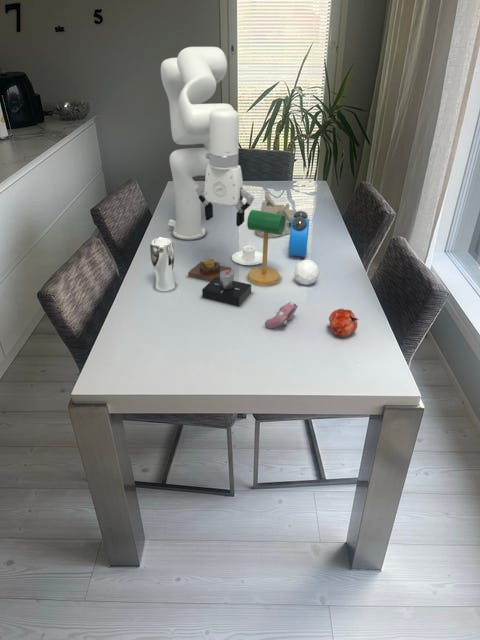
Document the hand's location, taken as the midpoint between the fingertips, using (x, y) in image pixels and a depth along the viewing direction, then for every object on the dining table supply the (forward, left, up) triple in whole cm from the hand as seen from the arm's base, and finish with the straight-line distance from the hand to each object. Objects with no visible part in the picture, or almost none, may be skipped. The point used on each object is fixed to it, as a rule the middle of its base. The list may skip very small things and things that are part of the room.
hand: (224, 221), depth 131 cm
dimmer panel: (+3, -4, -21) cm, 22 cm away
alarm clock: (+13, +33, -22) cm, 41 cm away
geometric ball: (+22, +14, -22) cm, 34 cm away
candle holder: (-1, +22, -22) cm, 31 cm away
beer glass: (-17, -7, -22) cm, 29 cm away
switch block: (-8, +6, -21) cm, 24 cm away
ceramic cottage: (-2, +51, -22) cm, 55 cm away
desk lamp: (+9, +11, -21) cm, 26 cm away
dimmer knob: (+3, -4, -18) cm, 19 cm away
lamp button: (-8, +6, -18) cm, 21 cm away
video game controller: (+23, -11, -22) cm, 33 cm away
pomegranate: (+39, -9, -22) cm, 45 cm away
